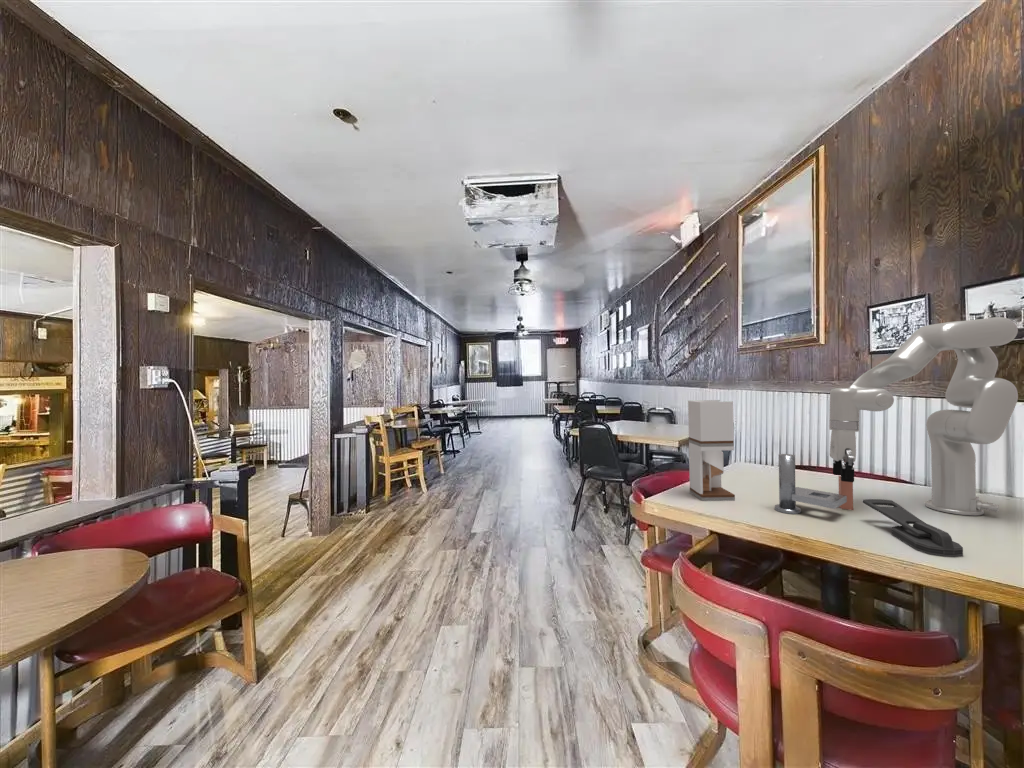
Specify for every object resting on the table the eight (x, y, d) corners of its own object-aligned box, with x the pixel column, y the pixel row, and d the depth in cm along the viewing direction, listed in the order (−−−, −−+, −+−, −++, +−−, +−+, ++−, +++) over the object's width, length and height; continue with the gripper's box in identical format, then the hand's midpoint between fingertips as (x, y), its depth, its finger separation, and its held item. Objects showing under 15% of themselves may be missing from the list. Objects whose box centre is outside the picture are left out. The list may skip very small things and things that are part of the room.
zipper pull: (893, 499, 120) (971, 530, 95) (893, 521, 120) (971, 558, 95) (858, 498, 121) (926, 528, 97) (858, 520, 121) (926, 556, 97)
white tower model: (701, 500, 143) (700, 402, 143) (689, 492, 154) (688, 400, 154) (734, 500, 143) (733, 401, 143) (720, 492, 153) (718, 399, 153)
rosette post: (846, 514, 126) (845, 457, 126) (832, 524, 118) (831, 462, 118) (787, 502, 139) (786, 450, 139) (770, 510, 132) (769, 455, 132)
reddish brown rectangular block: (838, 506, 134) (838, 476, 134) (850, 507, 133) (849, 476, 133) (841, 508, 132) (841, 478, 131) (853, 510, 130) (852, 478, 130)
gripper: (823, 422, 141) (822, 471, 142) (836, 428, 126) (835, 482, 126) (850, 424, 138) (849, 474, 138) (867, 429, 123) (866, 485, 123)
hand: (843, 478), depth 132 cm, fingers open, 9 cm apart
